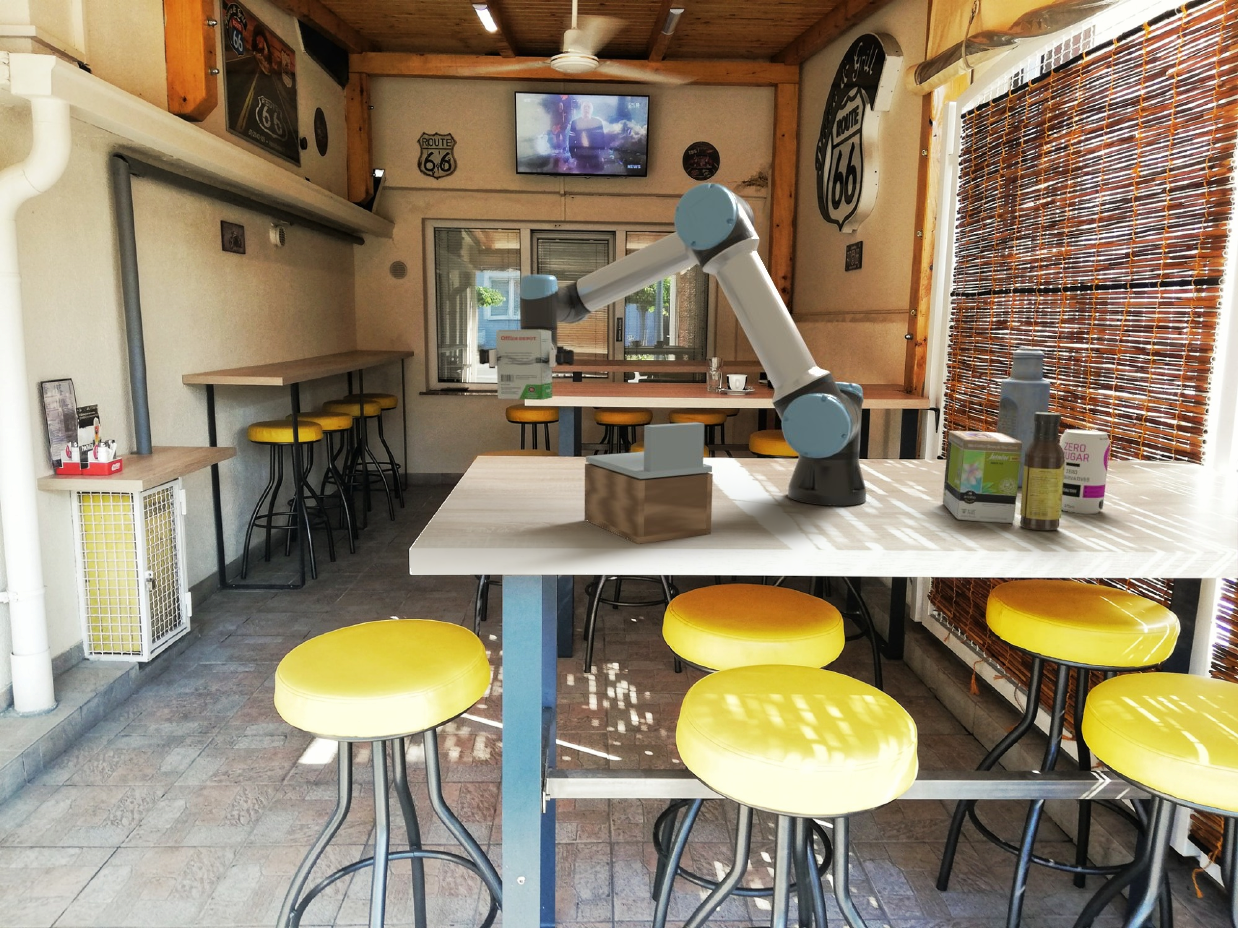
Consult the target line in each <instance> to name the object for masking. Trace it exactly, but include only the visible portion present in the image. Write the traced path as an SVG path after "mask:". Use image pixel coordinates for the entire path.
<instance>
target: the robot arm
mask: <svg viewBox="0 0 1238 928" xmlns="http://www.w3.org/2000/svg"><path fill="white" fill-rule="evenodd" d="M673 218H674V219H673V223H674V229H675V232H673V233H671V234H668V235H666V236H664V237H662V238H660V239H658V240H656V241H654V242H652V243H650V244H648V245H646V246H644V247H641V248H639V249H638V250H636V251H634V252H632V253H630V254H628V255H625V256H624V257H622V258H619V259H617V260H615V261H613V262H611V263H609V264H607V265H605V266H603V267H601V268H599V269H596V270H595V271H593V272H591V273H588V274H586V275H584V276H583V277H580V278H579V279H577V280H574V281H573V282H571V283H568V284H566V285H563V286H558V279H557V277H556V276H554V275H552V274H525V275H523V276H522V277H521V278H520V285H519V286H520V288H519V289H520V290H519V294H518V295H519V309H520V310H519V311H520V313H519V315H520V330H547V331H551V343H552V350H550V367H552V368H555V367H557V365H558V366H563V365H568V366H573V365H575V351H574V349H567V348H564V345H562V346H560V345H558V323H561V324H562V323H564V324H568V325H569V324H571V325H572V324H576V323H579V322H582V321H584V320H585V319H586V318H587V317H588V315H590V314H591V313H594V312H595V311H597V310H600V309H601V308H604V307H607V306H609V305H610V304H613V303H614V302H616V301H619V300H621V299H623V298H626V297H628V296H630V295H632V294H634V293H636V292H639V291H641V290H643V289H645V288H648V287H649V286H652V285H654V284H656V283H658V282H660V281H662V280H665V279H667V278H669V277H671V276H673V275H675V274H678V273H679V272H682V271H684V270H687V269H689V268H691V267H693V266H695V265H699V266H700V268H701V269H702V272H703V273H706V274H709V275H713V276H714V277H715V278H716V280H717V282H718V284H719V286H720V288H721V290H722V291H723V294H724V296H725V297H726V299H727V302H729V305H730V307H731V309H732V310H733V312H734V314H735V316H736V319H737V320H738V322H739V324H740V326H741V328H742V330H743V331H744V333H745V335H746V337H747V339H748V341H749V343H750V345H751V347H752V349H753V350H754V352H755V354H756V356H757V358H758V359H759V360H758V361H759V362H760V364H761V367H762V368H763V370H764V371H765V373H766V375H767V377H768V379H769V381H770V382H771V385H772V387H773V389H774V394H773V396H772V399H771V403H772V405H773V407H774V408H775V409H774V410H776V412H777V415H778V416H779V419H780V420H781V431H782V434H783V437H784V439H785V441H786V444H787V445H788V446H789V448H791V449H792V450H793V451H794V452H795V453H796V454H798V458H797V459H798V460H797V462H796V465H795V467H794V470H793V472H792V475H791V478H790V480H789V482H788V487H787V488H788V489H787V496H788V498H790V499H792V500H794V501H797V502H801V503H805V504H813V505H821V506H853V505H854V506H855V505H859V504H863V503H865V502H867V501H866V500H867V488H866V487H867V486H866V484H865V481H864V476H863V473H862V468H861V466H860V449H861V447H860V446H861V431H862V430H861V429H862V414H863V412H862V411H863V403H864V400H865V399H864V395H863V394H864V391H863V390H864V389H863V388H862V386H861V385H859V384H858V383H852V382H844V381H842V382H841V381H836V380H835V378H834V377H833V375H832V373H831V372H830V370H827V369H826V370H825V369H824V368H823V369H822V368H821V367H819V366H818V364H817V363H816V362H815V361H816V360H814V357H813V356H812V354H811V351H810V350H809V349H808V347H807V345H806V343H805V341H804V339H803V337H802V334H801V333H800V331H799V329H798V328H797V327H798V326H797V325H796V323H795V321H794V320H793V318H792V316H791V314H790V313H789V311H788V308H787V307H786V304H785V303H784V301H783V299H782V297H781V295H780V293H779V291H778V290H777V288H776V286H775V284H774V282H773V280H772V278H771V276H770V275H769V272H768V271H767V269H766V267H765V265H764V263H763V261H762V260H761V257H760V256H759V254H758V247H759V244H760V237H759V236H758V233H757V231H756V229H755V226H756V225H755V215H754V211H753V210H752V207H751V206H750V204H749V203H748V201H746V199H744V198H743V197H742V196H740V195H738V194H735V193H734V192H732V191H731V190H730V189H729V187H726V186H725V185H722V184H721V183H720V184H719V183H713V182H706V183H705V182H704V183H700V184H697V185H695V186H693V187H691V188H690V189H688V190H687V191H686V192H685V193H684V194H682V196H681V198H680V199H679V200H678V203H677V205H676V207H675V212H674V216H673ZM478 351H479V352H478V354H479V357H478V358H479V359H478V360H479V361H478V362H479V365H486V364H488V368H489V369H496V367H497V347H496V348H485V349H484V348H481V349H478Z"/></svg>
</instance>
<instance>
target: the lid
mask: <svg viewBox="0 0 1238 928" xmlns="http://www.w3.org/2000/svg"><path fill="white" fill-rule="evenodd" d="M643 428H644V431H643V432H644V433H643V434H644V435H643V436H644V437H643V440H644V442H643V451H637V452H625V453H624V452H623V453H610V454H597V455H585V462H586V463H591V464H594V465H597V466H601V467H604V468H607V469H610V470H613V471H617V472H620V473H623V474H626V475H629V476H633V477H636V478H639V479H645V478H656V477H666V476H677V475H687V474H698V473H712V472H713V466H712V465H708V464H705V463H704V449H705V448H704V447H705V446H704V445H705V423H702V422H698V421H697V422H696V421H695V422H682V423H681V422H680V423H664V424H662V423H661V424H647V425H644V427H643Z"/></svg>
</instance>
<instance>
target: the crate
mask: <svg viewBox="0 0 1238 928" xmlns="http://www.w3.org/2000/svg"><path fill="white" fill-rule="evenodd" d="M713 477H714V474H713V473H712V472H708V473H698V474H687V475H677V476H666V477H656V478H645V479H639V478H636V477H633V476H629V475H626V474H623V473H620V472H617V471H613V470H610V469H607V468H604V467H601V466H597V465H594V464H591V463H588V462H586V463H584V521H585V520H588V521H589V522H588V521H587V522H588V523H590V522H592V523H594V524H596V525H595V526H597V525H599V526H600V527H599V526H598V527H599V528H601V527H603V528H605V529H604V530H606V529H608V530H610V531H612V532H611V533H613V532H615V533H617V534H619V535H621V536H620V537H622V538H624V537H625V538H624V539H626V538H628V539H629V540H628V539H627V540H628V541H631V540H632V541H631V542H632V543H633V542H634V543H636V544H637V543H638V544H637V545H639V544H640V543H641V544H647V543H652V542H661V541H669V540H675V539H682V538H689V537H696V536H705V535H711V534H712V514H713V513H712V509H713V506H712V505H713V479H714V478H713ZM592 523H591V524H592ZM594 524H593V525H594ZM603 528H602V529H603ZM608 530H607V531H608ZM610 531H609V532H610ZM615 533H614V534H615ZM617 534H616V535H617ZM619 535H618V536H619Z"/></svg>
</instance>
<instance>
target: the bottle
mask: <svg viewBox="0 0 1238 928" xmlns="http://www.w3.org/2000/svg"><path fill="white" fill-rule="evenodd" d="M1012 358H1013V360H1012V366H1011V369H1010V373H1009V374H1010V376H1009V377H1008V378H1004V379H1002V380H1001V383H1000V384H1001V385H1000V393H999V394H1000V395H999V403H998V414H997V424H996V426H997V427H996V433H1002V434H1004V435H1007V436H1009V437H1011V438H1013V439H1016V440H1018V441H1021V442H1022V451H1021V460H1020V470H1019V478H1018V488H1019V487H1021V488H1022V482H1023V468H1024V464H1025V452H1026V450H1027V448H1028V447H1029V445H1030V444H1031V443H1032V442H1033V440H1034V436H1033V435H1034V431H1035V422H1034V415H1035V413H1036V412H1044V413H1049V401H1050V394H1051V382H1050V381H1048V380H1045V379H1043V377H1044V370H1043V367H1044V366H1043V363H1044V362H1043V361H1044V358H1045V353H1044V352H1043V351H1041V348H1039V347H1029V346H1028V347H1018V349H1017V350H1015V351H1014V352H1013V355H1012Z"/></svg>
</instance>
